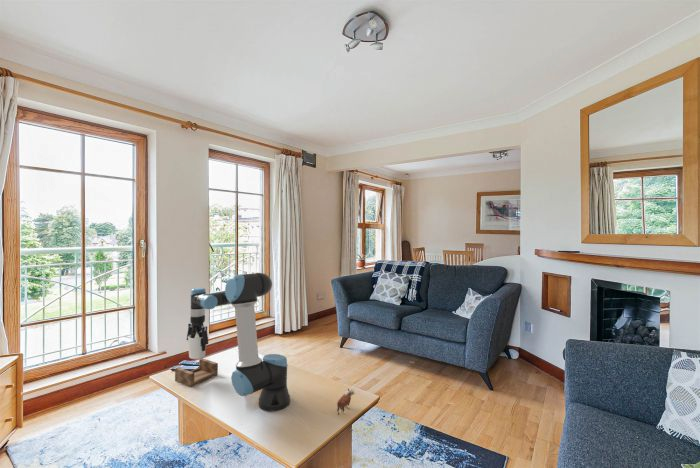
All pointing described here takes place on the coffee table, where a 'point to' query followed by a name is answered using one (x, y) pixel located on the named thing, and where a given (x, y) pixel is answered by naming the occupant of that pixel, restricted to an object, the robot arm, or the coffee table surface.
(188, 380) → the wooden tray
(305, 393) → the coffee table surface
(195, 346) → the candle holder
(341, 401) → the bull figurine
